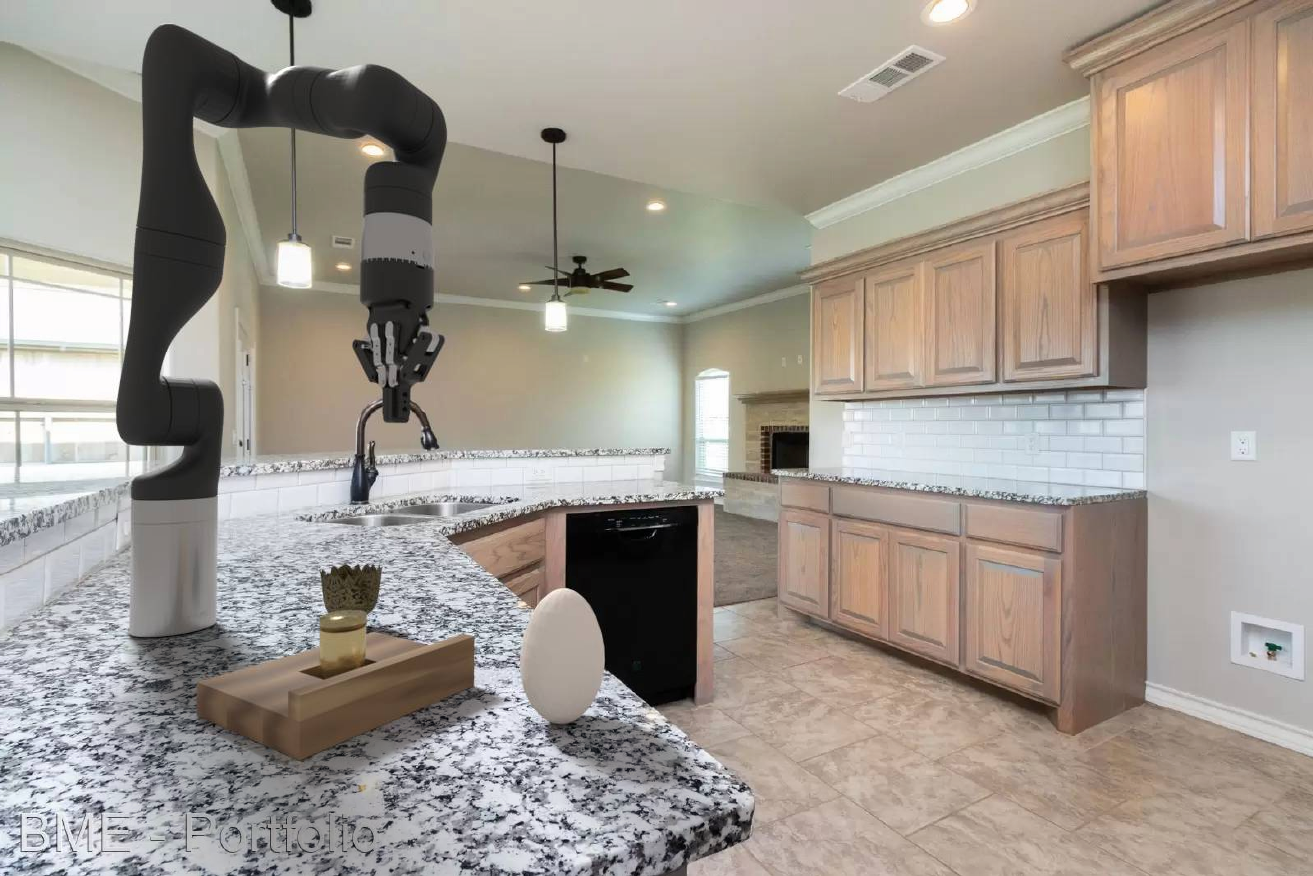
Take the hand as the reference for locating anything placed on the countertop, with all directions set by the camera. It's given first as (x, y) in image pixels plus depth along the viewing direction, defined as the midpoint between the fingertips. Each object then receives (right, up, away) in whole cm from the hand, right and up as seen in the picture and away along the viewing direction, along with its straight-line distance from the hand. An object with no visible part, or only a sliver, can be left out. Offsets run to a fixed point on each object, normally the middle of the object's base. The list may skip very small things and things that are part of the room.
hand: (396, 422), depth 70 cm
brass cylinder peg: (-2, -27, -9) cm, 28 cm away
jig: (-2, -27, -9) cm, 28 cm away
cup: (-12, -27, +15) cm, 33 cm away
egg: (+20, -27, -13) cm, 36 cm away
